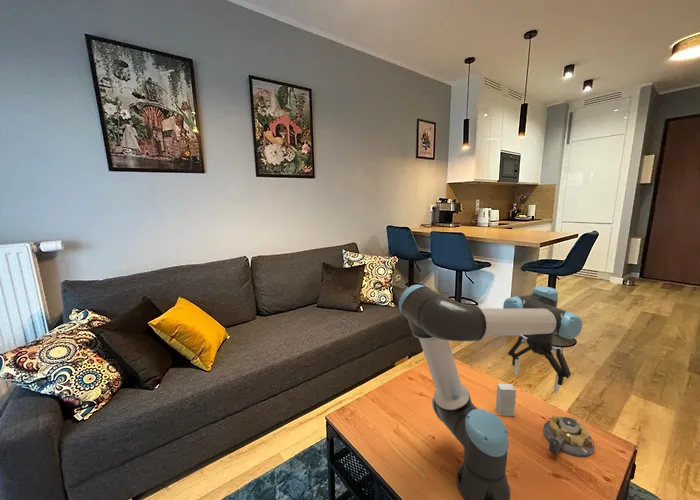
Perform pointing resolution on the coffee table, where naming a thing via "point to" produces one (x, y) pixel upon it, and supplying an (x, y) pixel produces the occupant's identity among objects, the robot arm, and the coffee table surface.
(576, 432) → the housing
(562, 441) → the ball lever
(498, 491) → the robot arm
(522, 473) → the coffee table surface
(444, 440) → the coffee table surface
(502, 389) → the skincare box
